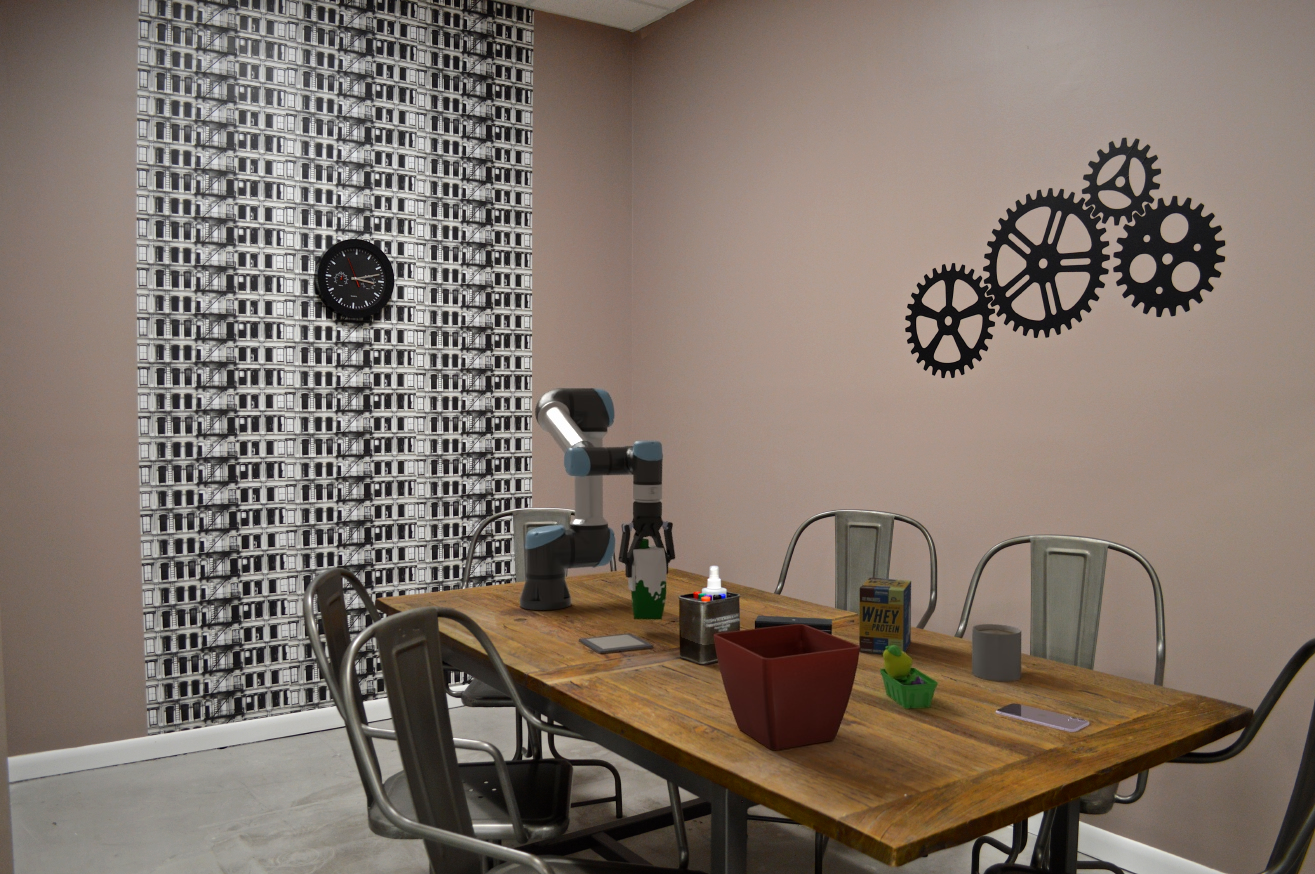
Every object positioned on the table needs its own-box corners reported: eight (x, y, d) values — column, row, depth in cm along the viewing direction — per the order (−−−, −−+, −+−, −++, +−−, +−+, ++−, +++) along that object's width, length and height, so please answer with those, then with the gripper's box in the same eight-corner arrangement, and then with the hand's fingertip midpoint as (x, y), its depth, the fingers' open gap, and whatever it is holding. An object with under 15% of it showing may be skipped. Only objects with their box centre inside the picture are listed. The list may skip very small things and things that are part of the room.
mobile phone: (1012, 701, 179) (1091, 719, 168) (1012, 706, 179) (1091, 724, 168) (993, 709, 174) (1073, 729, 162) (993, 714, 174) (1073, 734, 162)
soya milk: (631, 612, 244) (632, 536, 243) (666, 612, 243) (666, 537, 243) (630, 620, 235) (631, 542, 234) (665, 620, 235) (666, 542, 234)
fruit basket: (939, 709, 176) (940, 650, 176) (895, 711, 174) (896, 652, 174) (913, 691, 187) (913, 636, 187) (872, 694, 186) (872, 638, 185)
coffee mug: (997, 683, 193) (997, 636, 192) (962, 672, 202) (962, 626, 201) (1043, 675, 199) (1043, 629, 198) (1006, 664, 207) (1007, 620, 207)
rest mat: (578, 641, 230) (578, 638, 230) (630, 635, 236) (630, 632, 236) (599, 653, 217) (599, 650, 217) (653, 647, 224) (653, 644, 224)
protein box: (858, 652, 219) (858, 587, 219) (869, 638, 233) (869, 577, 233) (903, 656, 215) (904, 590, 215) (911, 641, 229) (912, 579, 229)
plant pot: (764, 761, 149) (765, 657, 149) (711, 725, 166) (711, 632, 166) (863, 744, 157) (863, 645, 156) (801, 712, 174) (802, 623, 174)
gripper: (616, 503, 230) (615, 594, 231) (689, 500, 239) (689, 587, 240) (604, 500, 237) (604, 589, 237) (676, 497, 246) (676, 582, 246)
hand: (646, 588), depth 239 cm, fingers closed on soya milk, 8 cm apart
